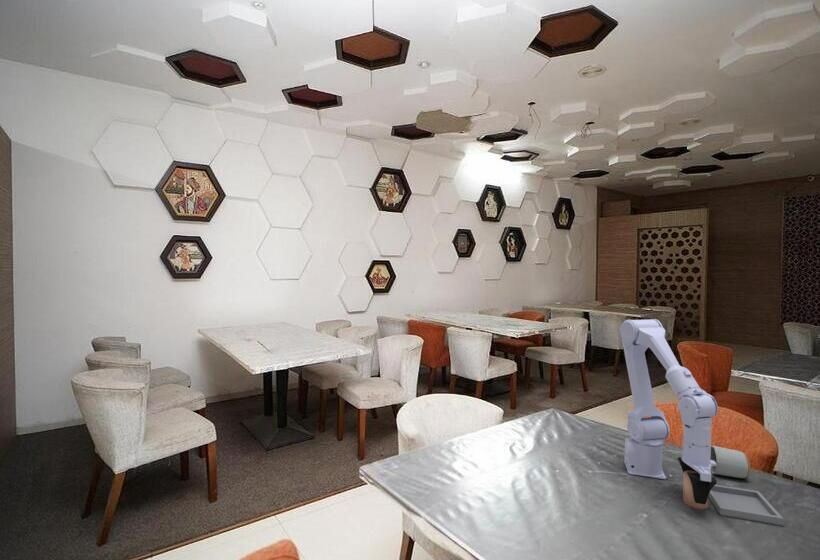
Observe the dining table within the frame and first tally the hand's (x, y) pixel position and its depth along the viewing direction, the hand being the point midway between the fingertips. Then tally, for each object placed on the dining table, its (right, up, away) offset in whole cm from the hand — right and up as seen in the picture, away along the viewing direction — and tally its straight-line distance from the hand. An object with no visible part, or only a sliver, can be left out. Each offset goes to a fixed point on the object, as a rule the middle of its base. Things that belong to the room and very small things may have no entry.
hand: (695, 495), depth 102 cm
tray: (+10, -2, -1) cm, 10 cm away
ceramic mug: (+19, -2, +15) cm, 25 cm away
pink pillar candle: (0, -2, 0) cm, 2 cm away
